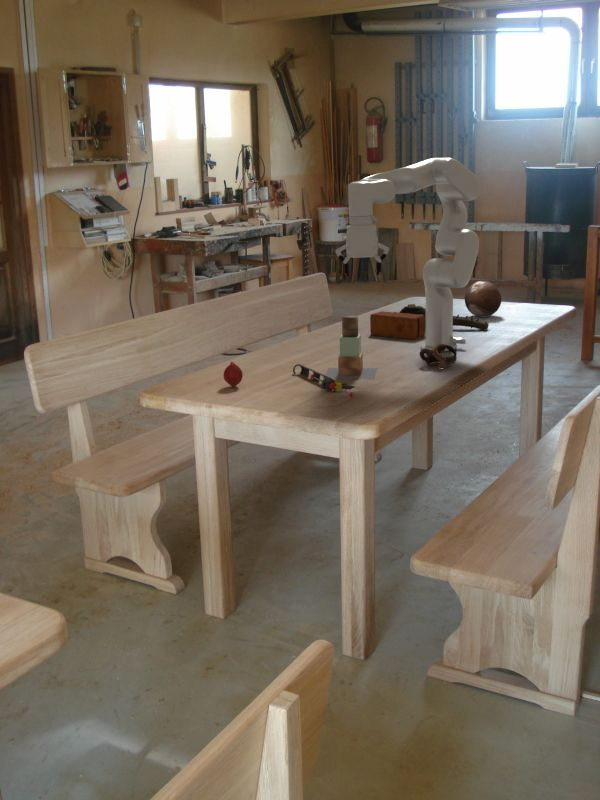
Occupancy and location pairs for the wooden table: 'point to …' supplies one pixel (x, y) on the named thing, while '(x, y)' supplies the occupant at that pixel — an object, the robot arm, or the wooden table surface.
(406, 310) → the wooden club
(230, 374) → the onion
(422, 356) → the pottery mug
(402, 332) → the brick
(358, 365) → the tower base
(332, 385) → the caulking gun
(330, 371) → the mat
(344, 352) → the tower mid
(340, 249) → the robot arm
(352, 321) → the dowel
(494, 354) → the wooden table surface
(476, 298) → the wooden sphere
